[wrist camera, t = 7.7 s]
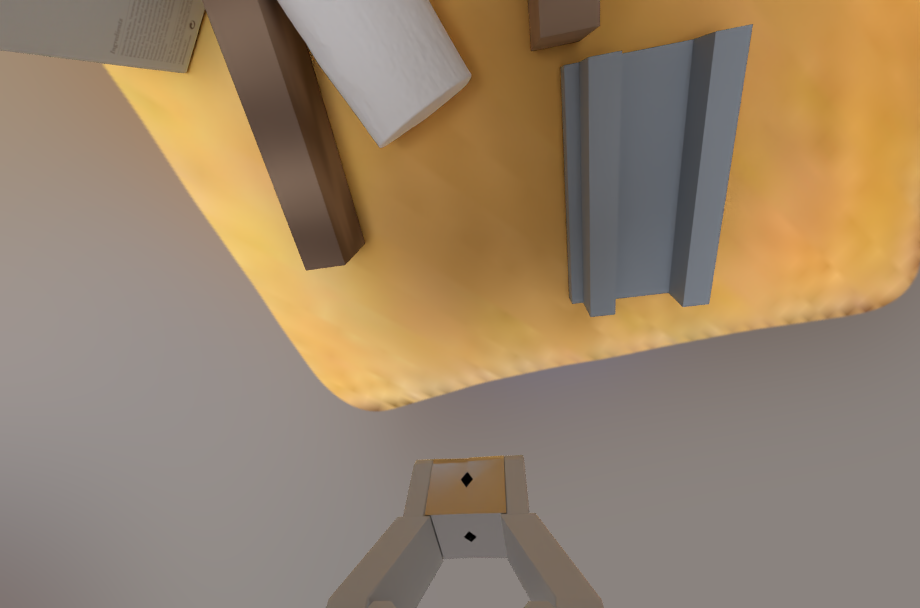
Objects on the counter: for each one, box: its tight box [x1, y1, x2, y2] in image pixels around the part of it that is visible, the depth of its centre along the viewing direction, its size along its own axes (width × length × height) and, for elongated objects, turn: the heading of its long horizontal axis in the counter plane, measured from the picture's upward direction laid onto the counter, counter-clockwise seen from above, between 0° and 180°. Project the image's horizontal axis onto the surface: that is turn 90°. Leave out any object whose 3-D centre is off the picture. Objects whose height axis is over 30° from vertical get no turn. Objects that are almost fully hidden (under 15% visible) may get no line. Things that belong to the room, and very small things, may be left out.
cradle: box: [561, 24, 753, 317], centre depth 21 cm, size 14×8×3 cm, turn 10°
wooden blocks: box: [202, 0, 600, 270], centre depth 19 cm, size 17×17×4 cm
